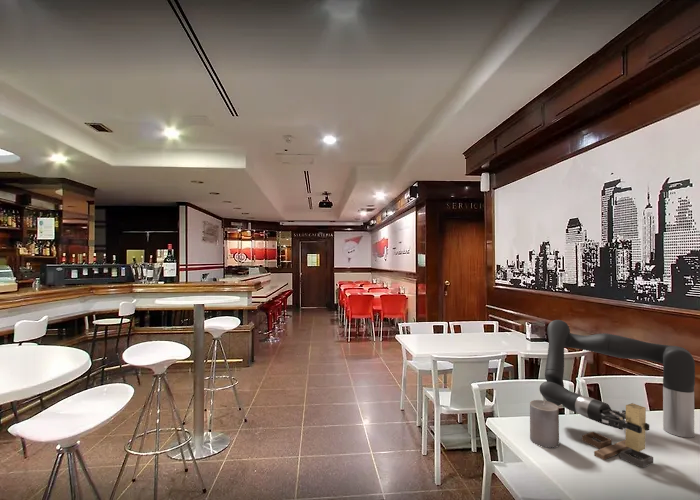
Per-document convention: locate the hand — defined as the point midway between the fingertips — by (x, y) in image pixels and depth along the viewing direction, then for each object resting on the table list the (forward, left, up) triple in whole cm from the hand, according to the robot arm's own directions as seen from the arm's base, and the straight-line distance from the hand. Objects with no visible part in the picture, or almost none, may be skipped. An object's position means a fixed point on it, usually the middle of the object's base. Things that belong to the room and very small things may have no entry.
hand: (644, 428), depth 124 cm
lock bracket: (0, -9, -12) cm, 15 cm away
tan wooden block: (0, -3, -7) cm, 8 cm away
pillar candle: (+17, -25, -12) cm, 32 cm away
